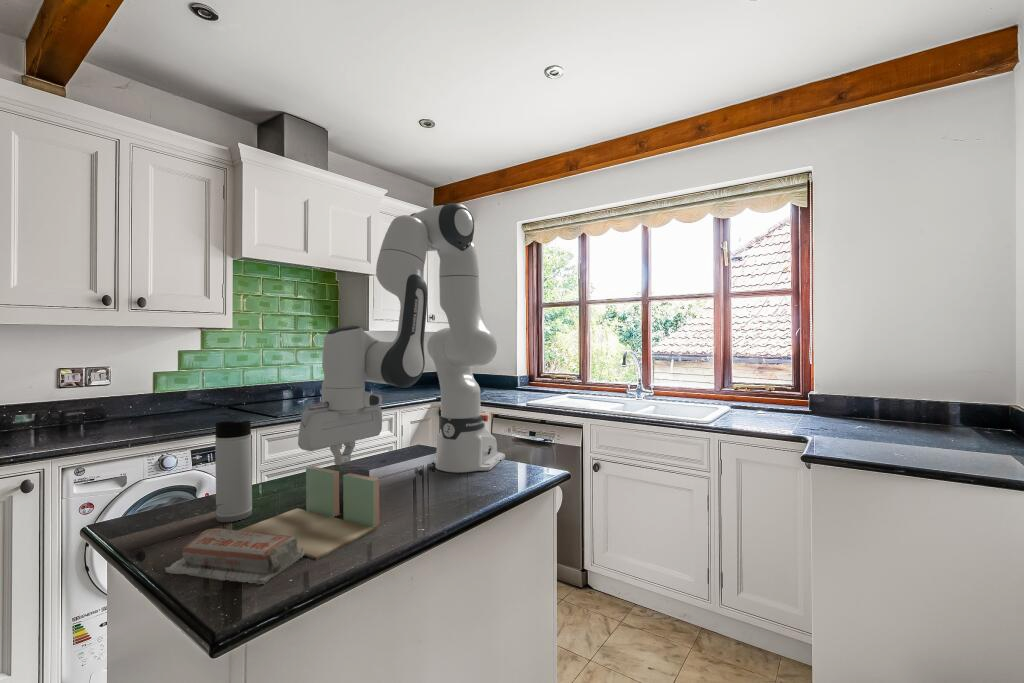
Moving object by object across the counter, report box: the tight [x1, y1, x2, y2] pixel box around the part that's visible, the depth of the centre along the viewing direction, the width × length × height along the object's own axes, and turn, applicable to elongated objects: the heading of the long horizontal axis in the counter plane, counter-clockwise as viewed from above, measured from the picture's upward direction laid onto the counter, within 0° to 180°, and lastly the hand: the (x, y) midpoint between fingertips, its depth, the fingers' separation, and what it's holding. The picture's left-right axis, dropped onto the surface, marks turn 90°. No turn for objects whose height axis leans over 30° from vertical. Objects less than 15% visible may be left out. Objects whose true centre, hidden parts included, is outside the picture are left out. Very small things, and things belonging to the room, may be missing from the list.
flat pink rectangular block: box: [305, 466, 340, 518], centre depth 96 cm, size 2×8×9 cm, turn 62°
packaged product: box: [164, 527, 306, 585], centre depth 75 cm, size 18×5×10 cm
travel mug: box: [214, 420, 253, 523], centre depth 94 cm, size 6×7×20 cm
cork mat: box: [239, 507, 376, 560], centre depth 87 cm, size 13×22×1 cm, turn 62°
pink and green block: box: [342, 472, 380, 528], centre depth 91 cm, size 2×8×9 cm, turn 62°
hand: (342, 463), depth 101 cm, fingers closed
